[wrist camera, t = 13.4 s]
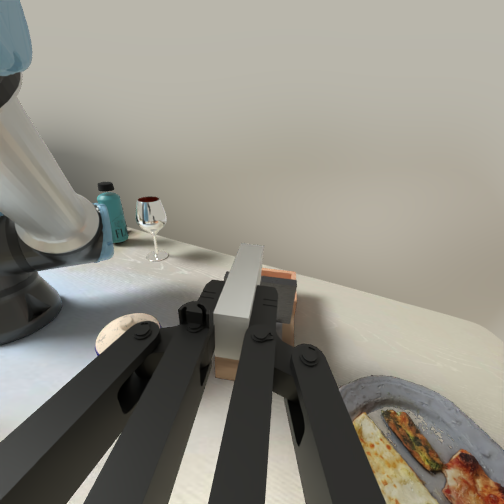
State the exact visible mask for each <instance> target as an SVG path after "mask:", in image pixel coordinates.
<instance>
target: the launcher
mask: <svg viewBox="0 0 504 504" xmlns="http://www.w3.org/2000/svg"><path fill="white" fill-rule="evenodd" d="M276 332H277V335H278V336H279V338H280V339H281V340H282V341H284V342H285V343H287V344H289V345H291V346H293V347H294V313H293V310H292V316H291V322H290V324H285V323H278V322H276ZM238 363H239V360H234V359H228V358H222V357H216V356H215V378H221V379H227V380H233V381H235V377H236V372H237V368H238Z"/></svg>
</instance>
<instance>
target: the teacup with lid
mask: <svg viewBox="0 0 504 504" xmlns="http://www.w3.org/2000/svg"><path fill="white" fill-rule="evenodd" d="M142 321H153V322H155V323H157V324H158V326H159V328H161V325H160V323H159V322H158V320H157V319H156V318H154V317H153V316H151V315H149V314H144V313H133V314H128V315H124V316H122V317H119V318H117V319H115V320H113V321H112V322H110V323H109V324H108V325H106V326H105V327H104V328H103V329H102V331H101V332H100V333H99V335H98V337H97V340H96V344H95V350H96V353H97V355H98V356H99V355H100V354H101V353H102V352H103V351H104V350H105V349H106V348H108V347H109V346H110V345H111V344H112V343H113V342H114V341H115V340H117V339H118V338H119V337H120V336H121V335H122V334H123V333H124V332H126V331H127V330H128V329H129V328H130V327H132V326H133V325H135V324H136V323H139V322H142Z"/></svg>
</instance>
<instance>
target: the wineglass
mask: <svg viewBox="0 0 504 504" xmlns="http://www.w3.org/2000/svg"><path fill="white" fill-rule="evenodd" d="M166 220H167V217H166V213H165V210H164V208H163V206H162V203H161V201H160V199H159V198H158V197H142V198H139V199H137V206H136V222H137V224H138V225H139V226H140V227H141V228H142V229H144V230H145V231H147V232H149V233H151V234H152V235H153V240H154V246H155V251H153V252H151V253H149V254H148V255H147V256H146V258H147V259H148V260H150V261H161V260H164V259H166V258H167V257H168V253H167V252H165V251H158V247H157V241H156V234H157V232H158V231H159V230H160V229H162V228H163V227H164V225H165V223H166Z"/></svg>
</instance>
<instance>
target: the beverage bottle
mask: <svg viewBox="0 0 504 504" xmlns="http://www.w3.org/2000/svg"><path fill="white" fill-rule="evenodd" d="M98 190H99V191H112V190H114V187H113V184H112V183H111V182H101V183H98ZM97 200H98V204H104V205H106V206H107V209H108V214H109V219H110V225H111V232H112V241H113V243H117V242H123V241H125V240H127V239H128V232H127V226H126V222H125V219H124V214H123V210H122V205H121V201H120V196H118V195H117V194H116V193H111V192H110V193H109V192H107V193H102V194H100V195H99V196H98V197H97Z"/></svg>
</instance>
